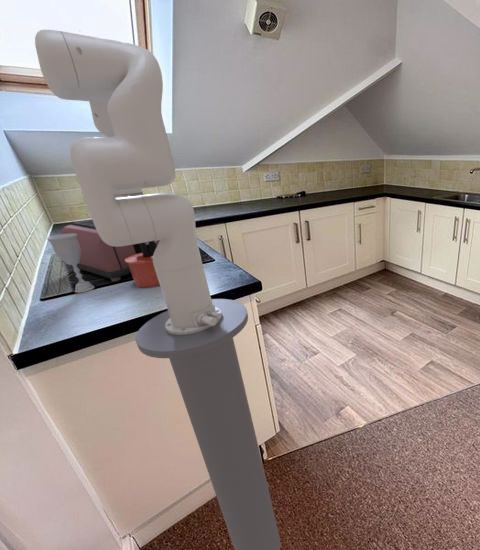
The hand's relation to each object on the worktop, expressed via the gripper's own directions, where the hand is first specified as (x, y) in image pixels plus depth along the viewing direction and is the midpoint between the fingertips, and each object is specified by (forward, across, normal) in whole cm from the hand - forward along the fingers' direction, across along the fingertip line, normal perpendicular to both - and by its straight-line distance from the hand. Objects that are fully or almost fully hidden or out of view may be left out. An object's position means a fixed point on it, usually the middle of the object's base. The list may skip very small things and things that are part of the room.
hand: (147, 253), depth 100 cm
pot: (+10, 0, 0) cm, 10 cm away
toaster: (+10, +27, -11) cm, 30 cm away
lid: (+1, 0, 0) cm, 1 cm away
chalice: (+10, +15, +14) cm, 23 cm away
